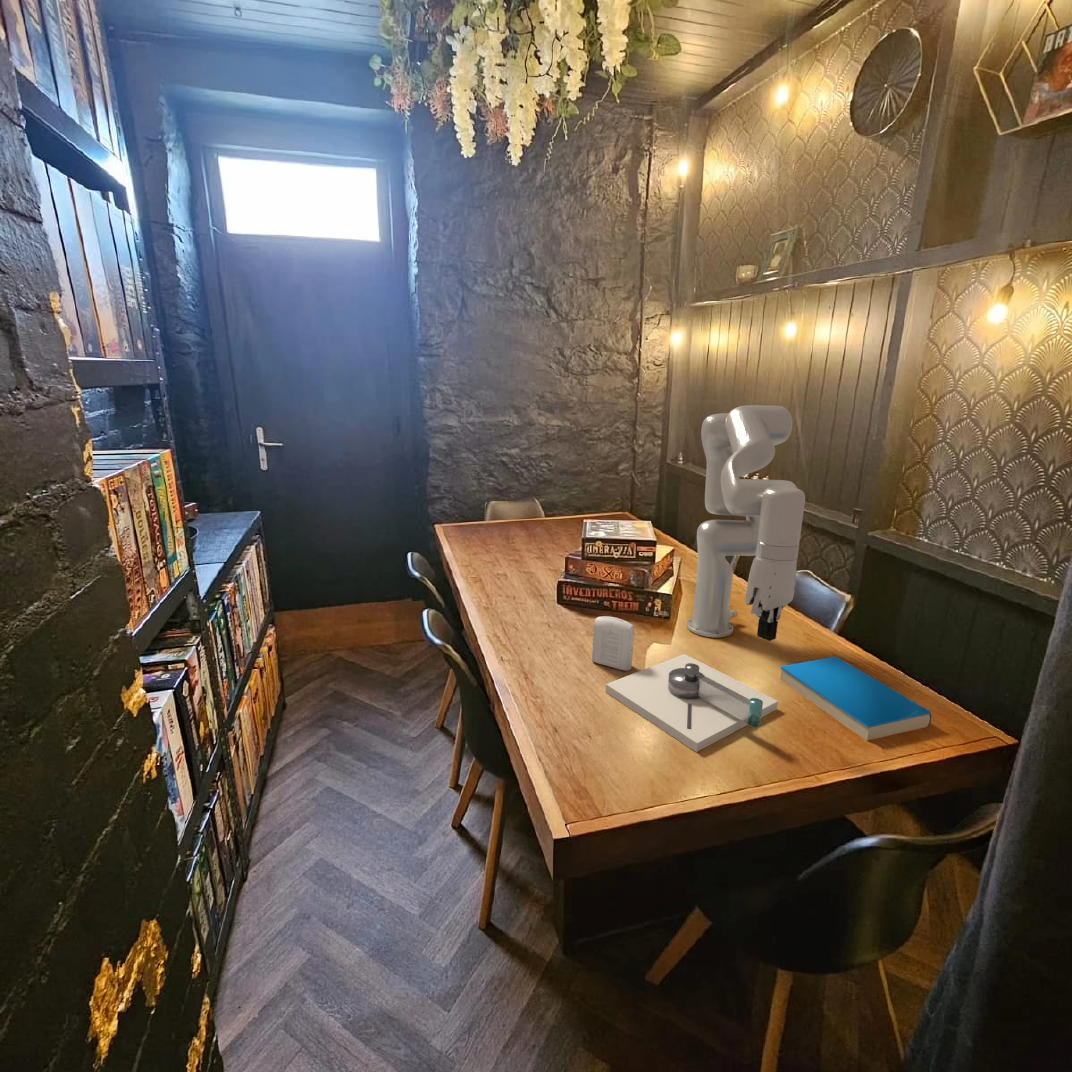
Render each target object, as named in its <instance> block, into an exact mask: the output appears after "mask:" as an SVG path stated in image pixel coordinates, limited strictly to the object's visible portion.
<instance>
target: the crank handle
mask: <svg viewBox="0 0 1072 1072" xmlns="http://www.w3.org/2000/svg"><path fill="white" fill-rule="evenodd" d="M668 689H669V691H670V692H671V693H672V694H674V695H676V696H678V697H681V698H685V699H697V698H700V697H701V698H703V699H705V700H706V701H708V702H710V703H712V704H713V705H715V706H717V707H719V708H720V709H722V710H724V711H726V712H728V713H729V714H731V715H733V716H735V717H736V718H738V719H740V720H742V721H744V722H745V723H747V724H748V725H747V726H749V727H752V728H759V727H760V726H761V721H762V720H761V719H762V718H761V714H762V706H763V701H762V700H760V699H758V698H751V699H748V698H746V697H744V696H742V695H740V694H738V693H736V692H734V691H733V690H731V689H729V688H727V687H725V686H723V685H721V684H719V683H717V682H715V681H713V680H712V679H710V678H708V677H705V676H704V675H703V674H702V673H701V672H699V666H698V665H696V664H693V663H688V664H686V665H685V668H678V669H674V670H672V671H671V672H670V673H669V680H668Z"/></svg>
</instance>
